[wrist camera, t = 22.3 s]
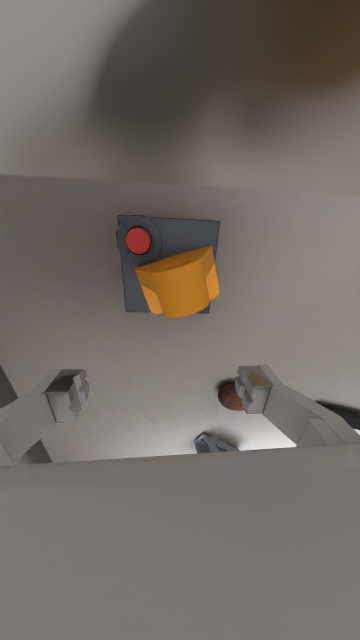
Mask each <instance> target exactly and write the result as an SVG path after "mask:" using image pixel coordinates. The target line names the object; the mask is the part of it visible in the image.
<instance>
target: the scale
mask: <svg viewBox="0 0 360 640" xmlns="http://www.w3.org/2000/svg"><path fill="white" fill-rule="evenodd" d="M118 225H119V228H118V230H117V233H116V237H117V246H118V248H119V250H120V251H121V261H122V272H123V284H124V296H125V308H126V312H151V311H150V309H149V306H148V303H147V301H146V298H145V295H144V293H143V290H142V287H141V284H140V282H139V279H138V276H137V274H136V271H135V268H136V267H138V266H141V265H144V264H148V263H151V262H154V261H156V260H159V259H163V258H166V257H170V256H173V255H176V254H180V253H183V252H186V251H190V250H191V251H192V250H195V249H199V248H202V247H205V246H212V251H213V256H214V262H215V258H216V250H217V242H218V233H219V225H220V221H207V220H190V219H173V218H156V217H146V216H137V215H132V216H122V215H118ZM133 228H140V229H143V230H145V231H146V232H147V233H148V234H149V235H150V238H151V245H150V248H149V249H148V250H147V251H146V252H144V253H142V254H136V253H134V252H132V251H131V250H130V249H129V248H128V246H127V244H126V236H127V233H128V232H129V231H130V230H131V229H133ZM209 307H210V303H209V305H208V306H207V307H206V308H204V309H203V310H201V311H199V312H197V313H209Z"/></svg>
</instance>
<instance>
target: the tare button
mask: <svg viewBox="0 0 360 640" xmlns="http://www.w3.org/2000/svg"><path fill="white" fill-rule="evenodd" d="M126 244H127V246H128V248H129V249H130V250H131V251H132V252H134V253H136V254H142V253H144V252H146V251H147V250H148V249H149V248H150V245H151V238H150V235H149V234H148V233H147V232H146V231H145V230H143V229H140V228H133V229H131V230H130V231H129V232H128V233H127V236H126Z"/></svg>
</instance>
